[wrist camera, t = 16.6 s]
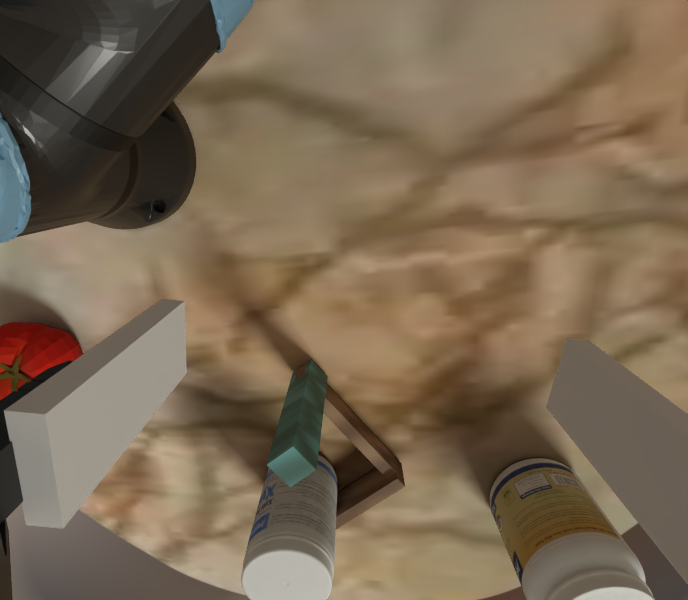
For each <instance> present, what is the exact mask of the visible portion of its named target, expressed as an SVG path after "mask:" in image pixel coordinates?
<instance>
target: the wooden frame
mask: <svg viewBox="0 0 688 600" xmlns="http://www.w3.org/2000/svg"><path fill="white" fill-rule="evenodd" d="M323 413H324V414H325V415H326V416H327V417H328V418H329V419H330V420H331V421H332V422H333V423H334V424H335V425H336V426H337V427H338V428H339V429H340V431H341V432H342V433H343V434H344V435H345V436H346V437H347V438H348V439H349V440H350V441H351V442H352V443H353V444H354V445H355V446H356V447H357V448H358V449H359V450H360V451H361V452H362V453H363V454H364V455H365V456H366V458H367V459H368V460H369V461H370V462H371V463H372V464H373V465H374V466H375V467H376V468H375V469H374V470H372V471H371V472H369V473H368V474H366V475H364V476H363V477H361V478H360V479H358V480H357V481H355V482H354V483H352V484H351V485H349V486H347V487H346V488H344V489H343V490H341V491H340V492H338V493H337V505H336V529H337V528H339V527H341V526H342V525H344V524H345V523H347V522H349V521H350V520H352V519H353V518H355V517H357V516H358V515H360V514H361V513H363V512H365V511H366V510H368V509H370V508H371V507H373V506H374V505H376V504H378V503H379V502H381V501H382V500H384V499H386V498H387V497H389V496H390V495H392V494H394V493H395V492H397V491H398V490H400V489H402V488H403V487H405V484H404V477H403V471H402V465H401V463H400V462H399V461H398V460H397V459H396V457H395V456H394V455H393V454H392V453H391V452H390V451H389V450H388V449H387V448H386V447H385V446H384V445H383V444H382V443H381V441H380V440H379V439H378V438H377V437H376V436H375V435H374V434H373V433H372V432H371V431H370V430H369V429H368V428H367V427H366V425H365V424H364V423H363V422H362V421H361V420H360V419H359V418H358V417H357V416H356V415H355V414H354V413H353V412H352V411H351V409H350V408H349V407H348V406H347V405H346V404H345V403H344V402H343V401H342V400H341V399H340V398H339V397H338V396H337V395H336V393H335V392H334V391H333V390H332V389H331V388H330V387H329V386H328V385H327V375H326V374H325V373H324V372H323V371H322V370H321V369H320V368H319V367H318V366H317V365H316V364H315V363H314V361H313V360H312V359H311V360H310V361H308V362H307V363H306V364H304V365H303V366H302V367H300V368H299V369H298V370H296V371H295V372H294V373H293V374H292V378H291V381H290V385H289V388H288V392H287V395H286V399H285V402H284V406H283V409H282V413H281V416H280V420H279V423H278V427H277V430H276V434H275V437H274V441H273V444H272V448H271V451H270V455H269V458H268V462H267V466H268V467H269V468H270V469H271V470H272V471H273V472H274V473H275V474H276V475H278V476H279V477H280V478H281V479H282V480H283V481H284V482H285V483H286V484H287V485H288V486H289V487H292V486H293V485H295V484H296V483H298V482H299V481H301V480H302V479H303V478H305V477H306V476H308V475H309V474H311V473H312V472H314V471H315V470H317V461H318V453H319V445H320V436H321V428H322V419H323Z"/></svg>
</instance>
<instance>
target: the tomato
mask: <svg viewBox="0 0 688 600" xmlns="http://www.w3.org/2000/svg"><path fill="white" fill-rule="evenodd" d="M82 355H83V353H82V350H81V348H80V345H79V343H78V342H77V341H76V340H75V339H74V338H73V337H72V336H71V335H70V334H68V333H66V332H64V331H63V330H61V329H55V328H49V327H47V326H45V325H43V324H37V323H22V322H11V323H7V324H4V325H2V326H1V327H0V400H1V399H3V398H4V397H6V396H7V395H9V394H10V393H12V392H13V391H17V390H18V388H19V387H21V386H22V385H24V384H25V383H27V382H31V379H33V378H34V377H36V376H37V375H39V374H40V373H42V372H43V371H45V370H46V369H48V368H51V367H53V366H56V365H58V364H61V363H63V362H66V361H68V360H69V361H75V360H76V359H78V358H79V357H80V356H82Z"/></svg>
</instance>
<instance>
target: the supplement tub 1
mask: <svg viewBox="0 0 688 600" xmlns="http://www.w3.org/2000/svg"><path fill="white" fill-rule="evenodd" d="M336 505H337V476H336V473H335V471H334V469H333V467H332V466H331V464H330V463H329V462H328V461H327V460H326V459H325V458H323V457H322V456H320V455H318V461H317V470H315V471H314V472H312V473H311V474H309V475H308V476H306V477H305V478H303V479H302V480H301V481H299V482H298V483H296V484H295V485H293V486H292V487H289V486H288V485H287V484H286V483H285V482H284V481H283V480H282V479H281V478H280V477H279V476H278V475H276V474H275V473H274V472H273V471H272V470H271V469H270V468H269V469H268V472H267V475H266V479H265V482H264V486H263V490H262V494H261V497H260V501H259V505H258V509H257V512H256V516H255V520H254V524H253V527H252V531H251V535H250V538H249V542H248V546H247V550H246V554H245V558H244V562H243V571H242V576H241V582H242V587H243V589H244V591H245V593H246V595H247V596H248V597H249V598H250V599H251V600H326V599H327V597H328V596H329V594H330V591H331V587H332V579H333V575H334V557H335V532H336Z"/></svg>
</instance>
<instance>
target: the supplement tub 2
mask: <svg viewBox="0 0 688 600" xmlns="http://www.w3.org/2000/svg"><path fill="white" fill-rule="evenodd" d="M490 508H491V512H492V515H493V517H494V519H495V521H496V524H497V526H498V529H499V531H500V534H501V536H502V539H503V541H504V544H505V546H506V549H507V551H508V553H509V556H510V558H511V561H512V563H513V566H514V568H515V571H516V573H517V576H518V578H519V581H520V583H521V586H522V588H523V590H524V594H525V597H526V599H527V600H655V599H654V597H653V595H652V592H651V591H650V589H649V587H648V586H647V585H646V582H645V575H644V571H643V568H642V566H641V564H640V562H639V560H638V559H637V557H636V555H635V554H634V553H633V551H632V550H631V549H630V548H629V547H628V546H627V544H626V543H625V541H624V540H623V539H622V537H621V536H620V535H619V533H618V532H617V530H616V529H615V528H614V526H613V525H612V524H611V522H610V521H609V519H608V518H607V517H606V515H605V514H604V512H603V511H602V510H601V508H600V507H599V506H598V504H597V503H596V501H595V500H594V499H593V497H592V496H591V494H590V493H589V491H588V490H587V489H586V487H585V486H584V484H583V483H582V481H581V480H580V478H579V477H578V476H577V475H576V473H574V472H573V471H572V470H571V469H570V468H569V467H567V466H565V465H564V464H562V463H560V462H557V461H554V460H550V459H543V458H534V459H527V460H523V461H520V462H517V463H514V464H512V465H511V466H509V467H508V468H506V469H505V470H504V471H503V472H502V473H501V474H500V475H499V476H498V477H497V479H496V480H495V482H494V484H493V486H492V489H491V492H490Z"/></svg>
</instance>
